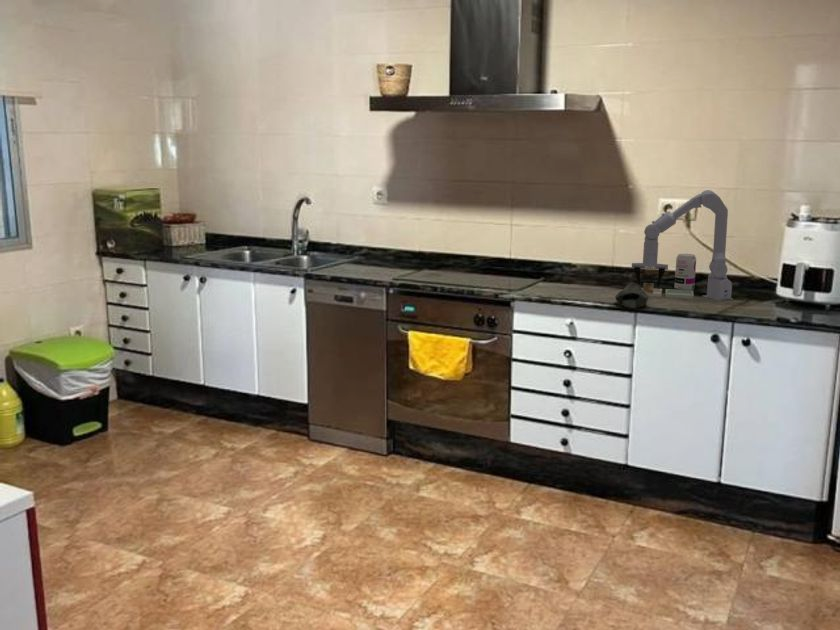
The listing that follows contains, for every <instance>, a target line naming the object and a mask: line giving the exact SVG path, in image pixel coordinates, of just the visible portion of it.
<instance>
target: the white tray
mask: <svg viewBox="0 0 840 630" xmlns="http://www.w3.org/2000/svg"><path fill="white" fill-rule="evenodd" d="M641 288H642V290H643V287H641ZM662 292H663V288H653V293H646V294H647V295H648V297H654V298H656V297H657V298H661V297H662V295H663V293H662Z"/></svg>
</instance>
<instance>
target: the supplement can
mask: <svg viewBox="0 0 840 630" xmlns="http://www.w3.org/2000/svg"><path fill="white" fill-rule="evenodd" d="M675 259H676V260H675V272H674V289H675V290H689V291H693V290H694V289H695V281H696V270H697V268H696V267H697V257H696V255H695V254H692V253H679V254H677V256H676V258H675Z"/></svg>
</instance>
